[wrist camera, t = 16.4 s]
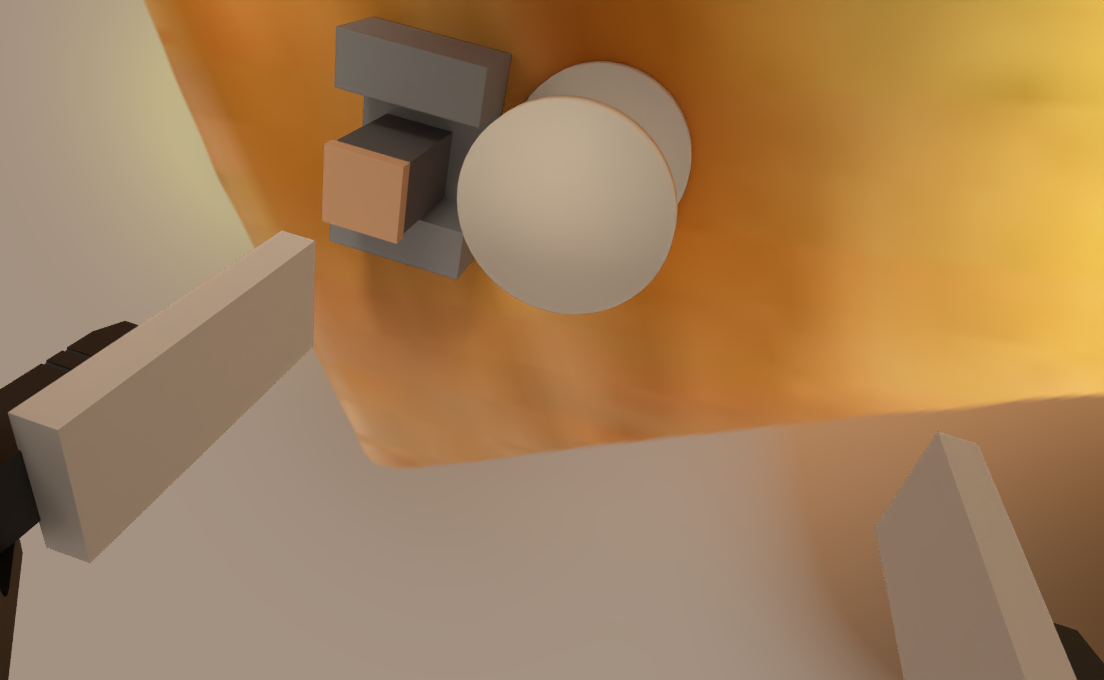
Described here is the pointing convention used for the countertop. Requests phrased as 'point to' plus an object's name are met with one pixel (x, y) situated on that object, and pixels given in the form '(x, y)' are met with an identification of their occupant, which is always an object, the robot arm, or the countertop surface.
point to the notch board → (422, 120)
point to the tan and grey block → (385, 176)
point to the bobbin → (577, 189)
